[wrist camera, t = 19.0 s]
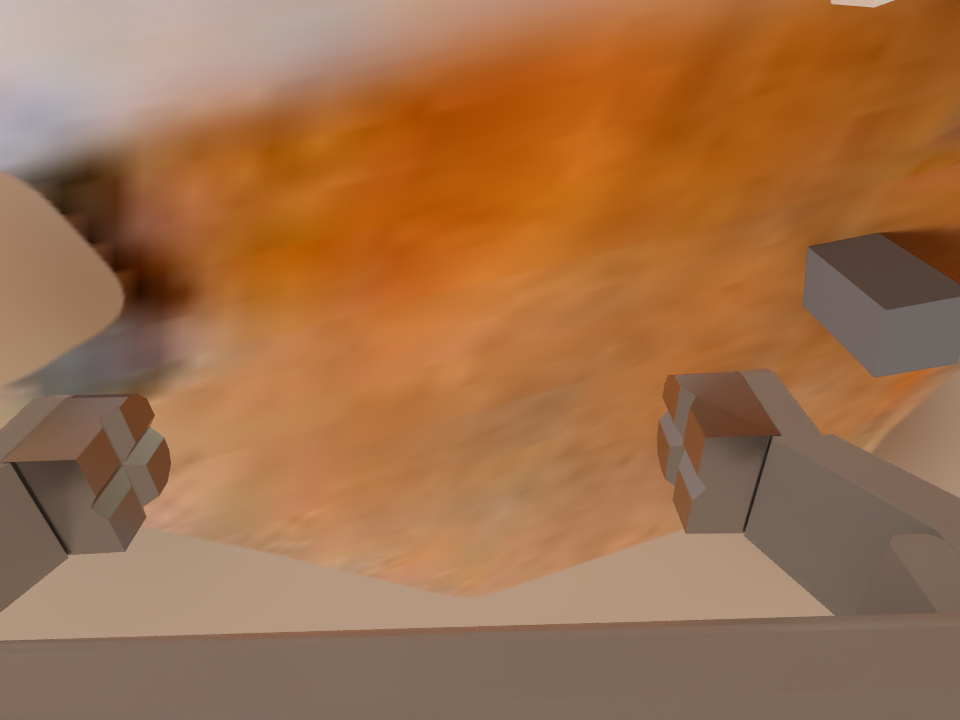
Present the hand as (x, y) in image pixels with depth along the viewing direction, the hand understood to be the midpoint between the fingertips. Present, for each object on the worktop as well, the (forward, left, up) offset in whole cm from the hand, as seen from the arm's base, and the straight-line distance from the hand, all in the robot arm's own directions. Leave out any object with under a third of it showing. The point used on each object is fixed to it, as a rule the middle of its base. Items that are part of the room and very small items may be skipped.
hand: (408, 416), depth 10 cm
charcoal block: (+14, +28, -34) cm, 46 cm away
